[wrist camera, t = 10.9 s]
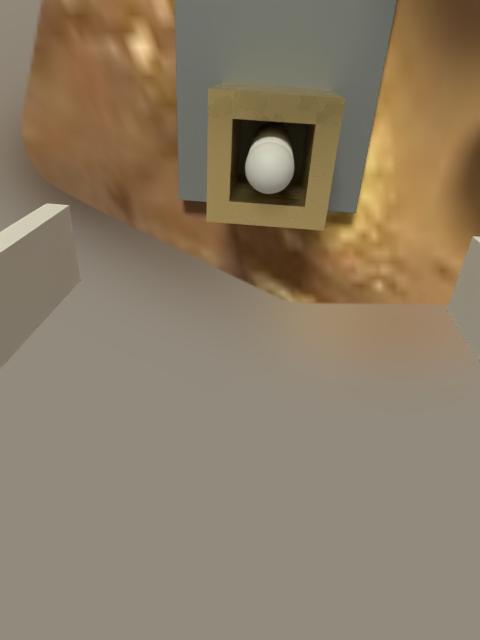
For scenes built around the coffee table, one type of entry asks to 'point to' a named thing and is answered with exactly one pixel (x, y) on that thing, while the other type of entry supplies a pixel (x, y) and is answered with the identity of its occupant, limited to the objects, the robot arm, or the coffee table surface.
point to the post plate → (280, 82)
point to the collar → (317, 162)
